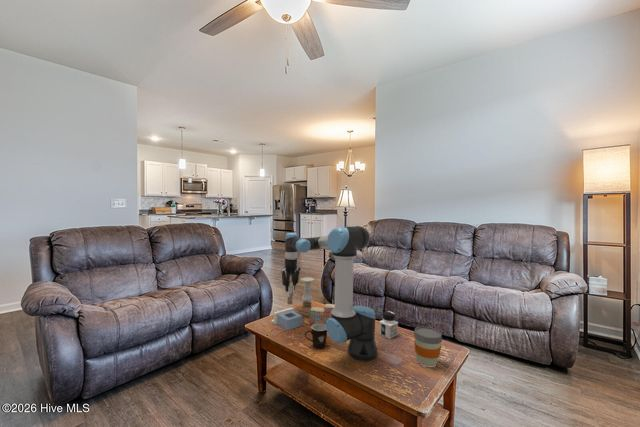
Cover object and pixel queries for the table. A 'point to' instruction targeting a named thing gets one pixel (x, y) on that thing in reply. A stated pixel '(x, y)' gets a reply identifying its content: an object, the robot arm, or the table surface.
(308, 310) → the candle holder
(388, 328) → the container
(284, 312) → the wall
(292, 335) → the table surface
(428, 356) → the reusable coffee cup
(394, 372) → the table surface
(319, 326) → the coffee mug
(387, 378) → the table surface
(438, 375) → the table surface
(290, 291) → the dowel
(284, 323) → the block
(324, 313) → the stack of blocks
